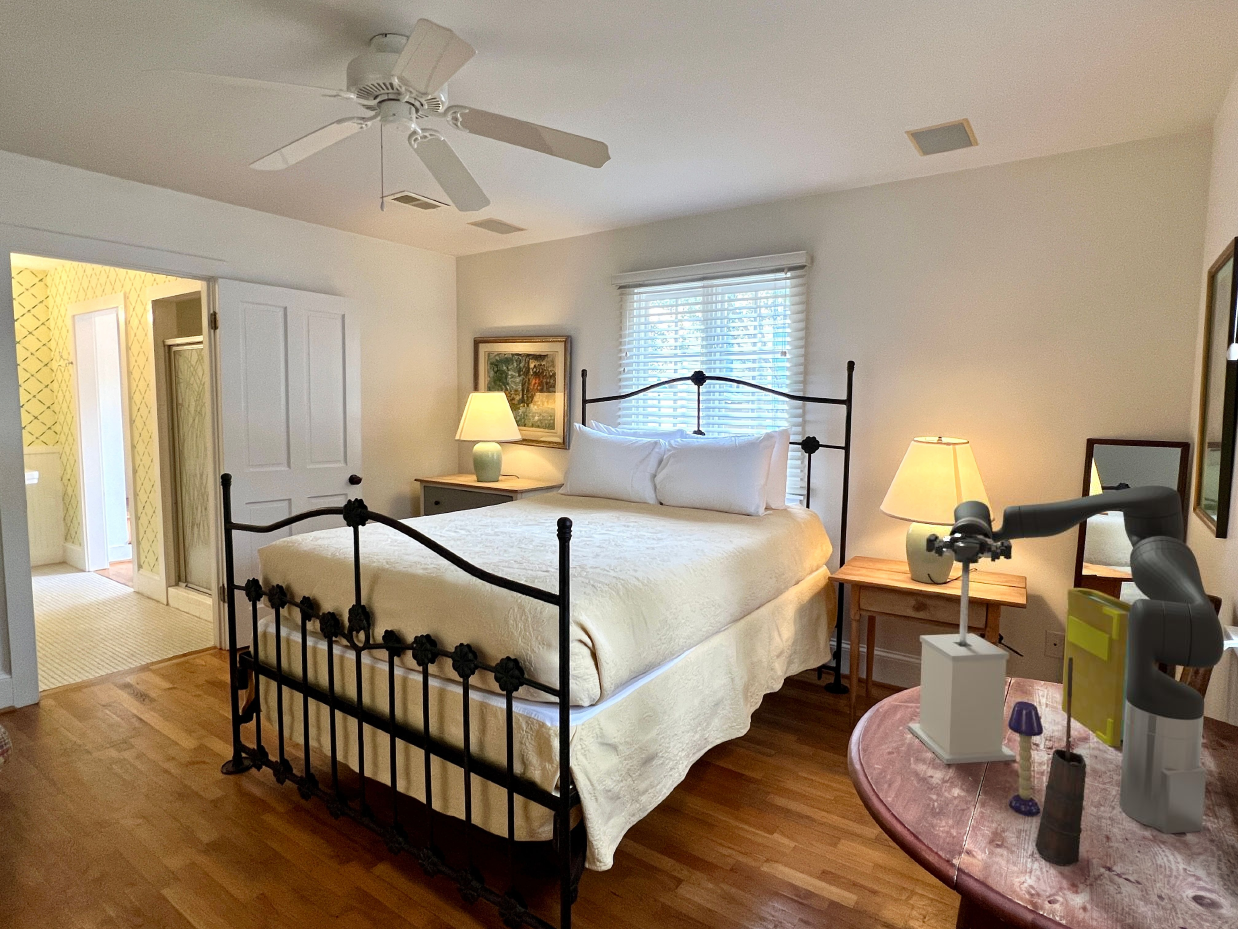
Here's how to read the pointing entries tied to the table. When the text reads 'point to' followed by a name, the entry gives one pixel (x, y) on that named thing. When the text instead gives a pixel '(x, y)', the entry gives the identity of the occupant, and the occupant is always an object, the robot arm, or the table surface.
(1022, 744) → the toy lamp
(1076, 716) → the book
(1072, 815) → the butter churn
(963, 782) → the table surface
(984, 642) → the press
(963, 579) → the plunger
